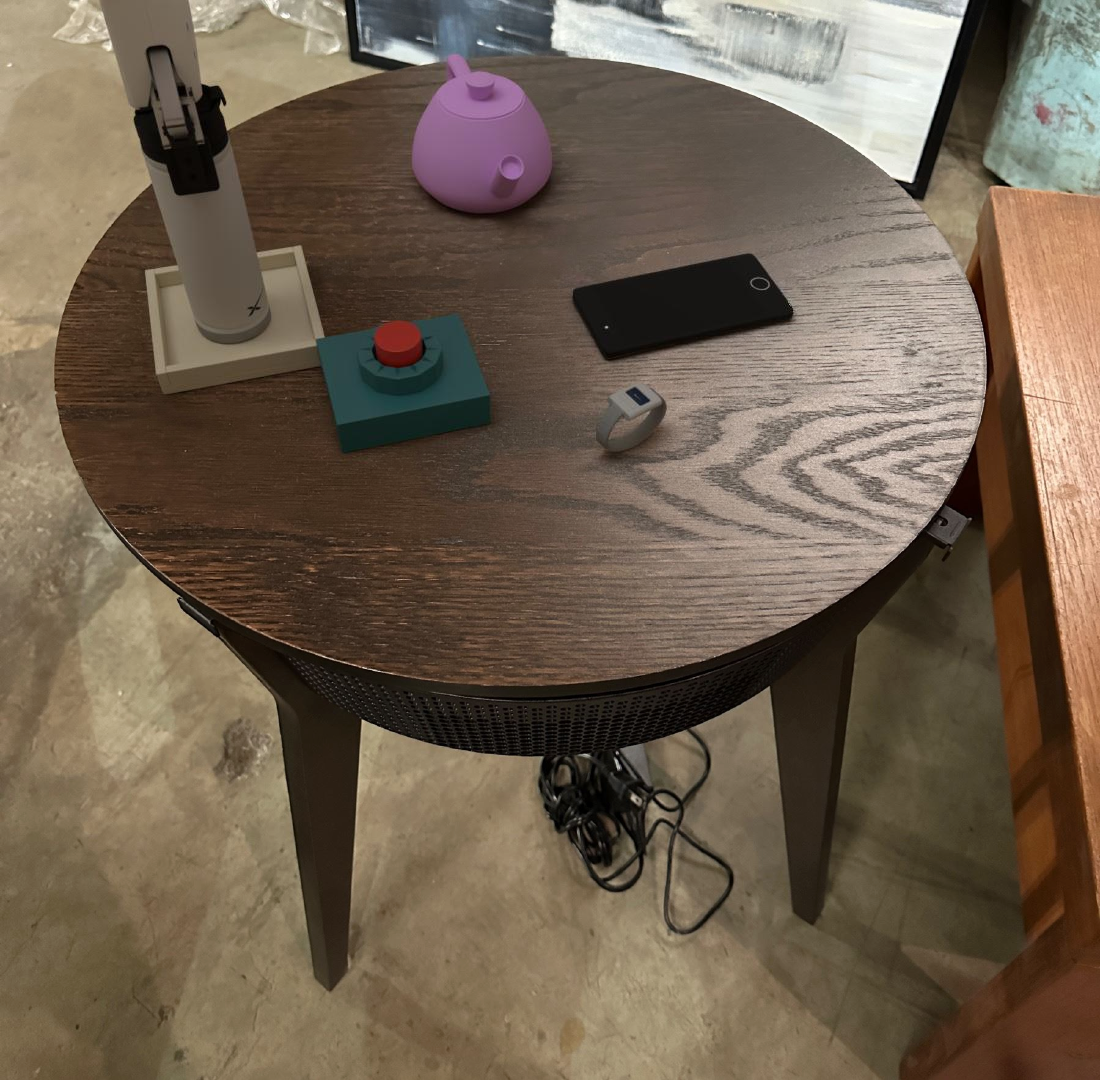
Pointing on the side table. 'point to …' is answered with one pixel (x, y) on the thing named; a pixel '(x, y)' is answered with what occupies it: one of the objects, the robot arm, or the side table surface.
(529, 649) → the side table surface
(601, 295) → the cell phone
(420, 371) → the block
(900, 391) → the side table surface
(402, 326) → the button
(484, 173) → the teapot
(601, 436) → the wristwatch
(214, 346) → the tray
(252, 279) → the travel mug
